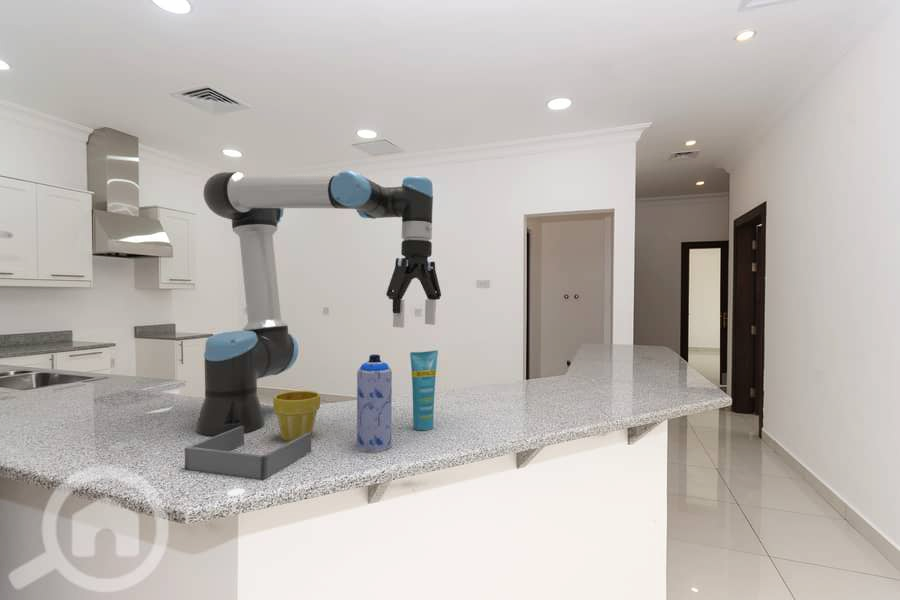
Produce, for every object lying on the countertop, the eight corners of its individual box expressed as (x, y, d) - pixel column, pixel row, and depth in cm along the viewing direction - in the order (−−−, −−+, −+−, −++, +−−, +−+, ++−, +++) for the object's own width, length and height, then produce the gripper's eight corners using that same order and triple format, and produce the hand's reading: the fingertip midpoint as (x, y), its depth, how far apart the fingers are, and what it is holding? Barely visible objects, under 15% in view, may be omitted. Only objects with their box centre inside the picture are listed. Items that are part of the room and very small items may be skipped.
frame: (184, 468, 86) (184, 447, 86) (240, 443, 101) (241, 425, 101) (264, 479, 81) (264, 457, 81) (311, 451, 96) (311, 432, 96)
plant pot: (328, 436, 106) (328, 395, 106) (285, 447, 99) (286, 402, 99) (306, 427, 113) (306, 388, 113) (265, 436, 106) (265, 394, 106)
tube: (415, 432, 110) (415, 353, 109) (405, 427, 114) (406, 350, 113) (441, 427, 114) (441, 351, 113) (431, 423, 118) (431, 349, 118)
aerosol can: (398, 447, 99) (399, 355, 99) (365, 455, 94) (365, 358, 94) (382, 438, 105) (382, 351, 105) (350, 444, 101) (350, 354, 100)
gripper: (398, 233, 101) (396, 329, 101) (455, 245, 122) (453, 324, 122) (372, 235, 104) (370, 327, 105) (431, 246, 126) (430, 322, 126)
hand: (415, 325), depth 114 cm, fingers open, 13 cm apart
